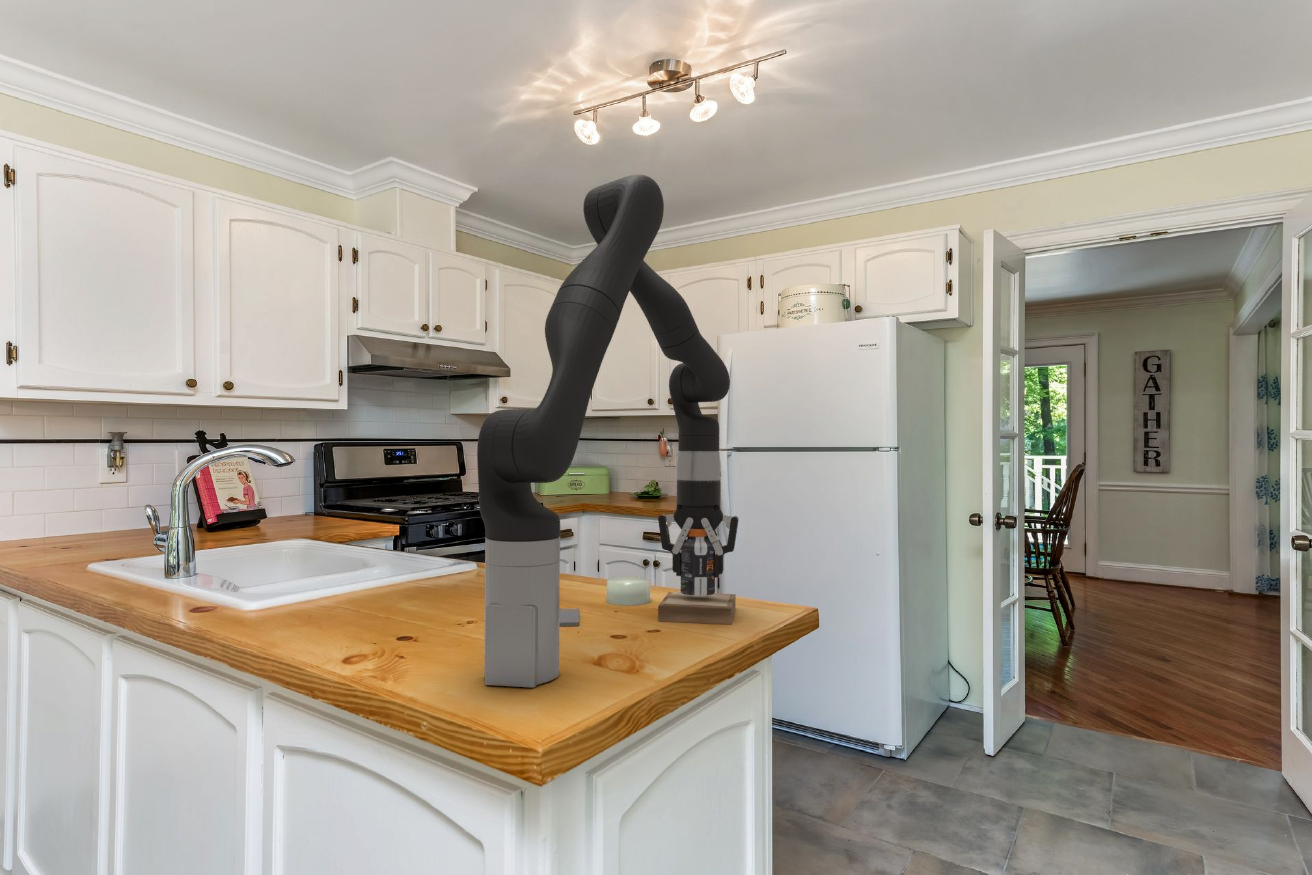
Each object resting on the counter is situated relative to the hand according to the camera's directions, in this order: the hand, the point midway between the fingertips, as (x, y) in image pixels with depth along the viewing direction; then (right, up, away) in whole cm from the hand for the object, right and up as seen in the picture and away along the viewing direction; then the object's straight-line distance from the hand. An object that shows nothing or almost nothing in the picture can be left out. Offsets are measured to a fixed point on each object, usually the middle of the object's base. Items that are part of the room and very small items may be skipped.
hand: (698, 575), depth 127 cm
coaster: (-25, -6, -4) cm, 26 cm away
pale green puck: (-12, -7, +11) cm, 18 cm away
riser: (0, -7, 0) cm, 7 cm away
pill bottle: (0, -3, 0) cm, 3 cm away
